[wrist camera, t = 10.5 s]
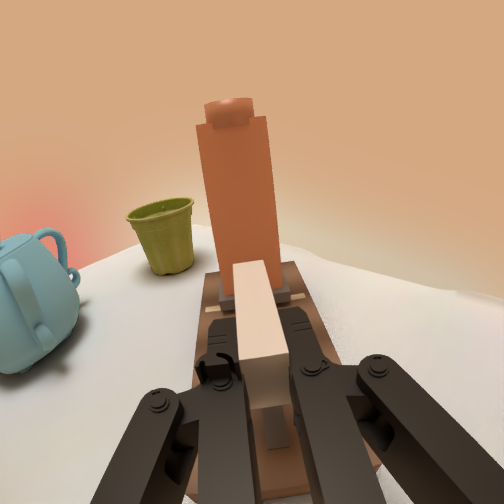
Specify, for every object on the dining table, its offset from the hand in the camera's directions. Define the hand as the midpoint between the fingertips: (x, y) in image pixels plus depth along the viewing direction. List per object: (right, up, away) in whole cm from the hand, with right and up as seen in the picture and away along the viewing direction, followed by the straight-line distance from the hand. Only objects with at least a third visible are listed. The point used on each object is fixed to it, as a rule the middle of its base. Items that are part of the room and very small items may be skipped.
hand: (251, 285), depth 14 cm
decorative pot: (-26, -9, +10) cm, 29 cm away
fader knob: (0, -2, +11) cm, 12 cm away
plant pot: (-11, 0, +25) cm, 27 cm away
